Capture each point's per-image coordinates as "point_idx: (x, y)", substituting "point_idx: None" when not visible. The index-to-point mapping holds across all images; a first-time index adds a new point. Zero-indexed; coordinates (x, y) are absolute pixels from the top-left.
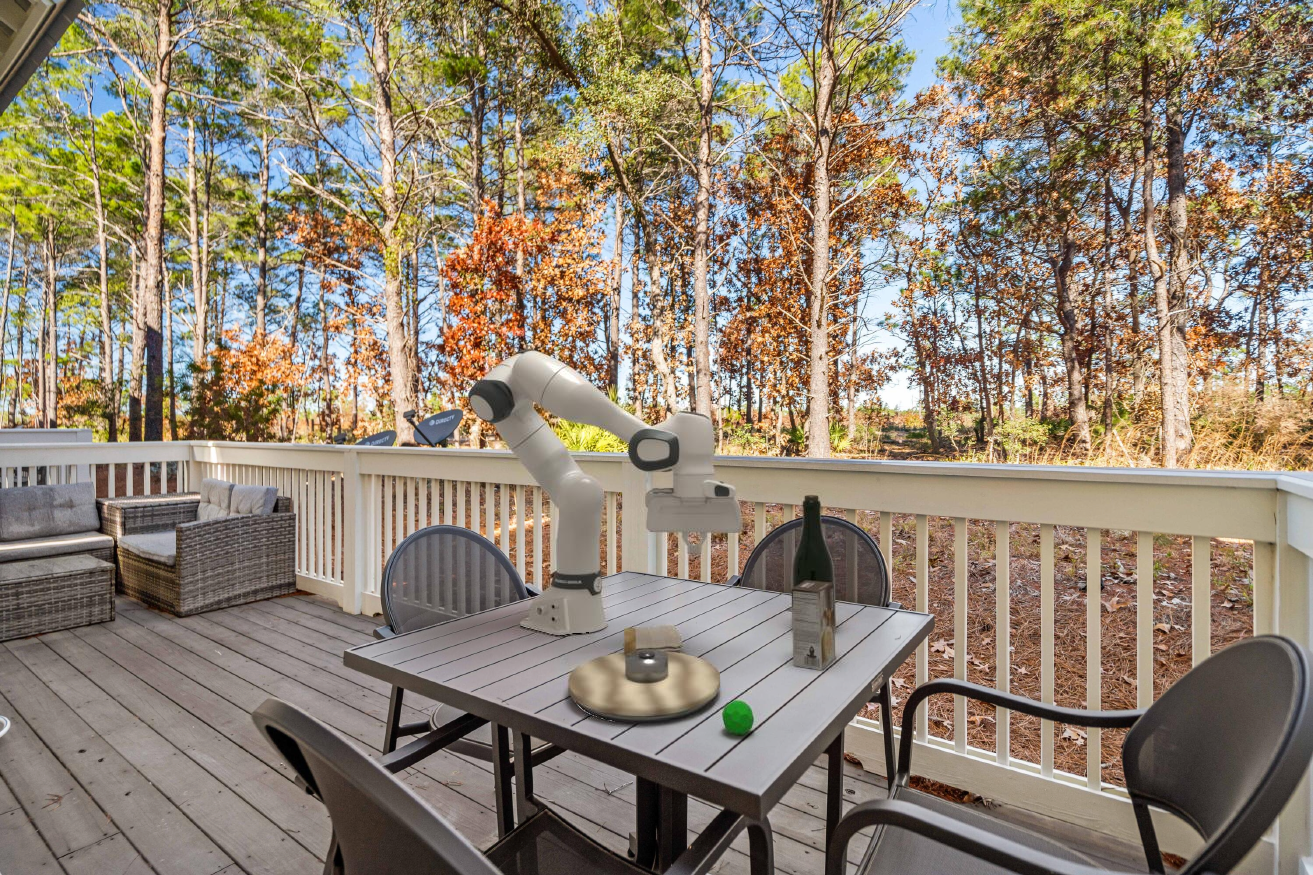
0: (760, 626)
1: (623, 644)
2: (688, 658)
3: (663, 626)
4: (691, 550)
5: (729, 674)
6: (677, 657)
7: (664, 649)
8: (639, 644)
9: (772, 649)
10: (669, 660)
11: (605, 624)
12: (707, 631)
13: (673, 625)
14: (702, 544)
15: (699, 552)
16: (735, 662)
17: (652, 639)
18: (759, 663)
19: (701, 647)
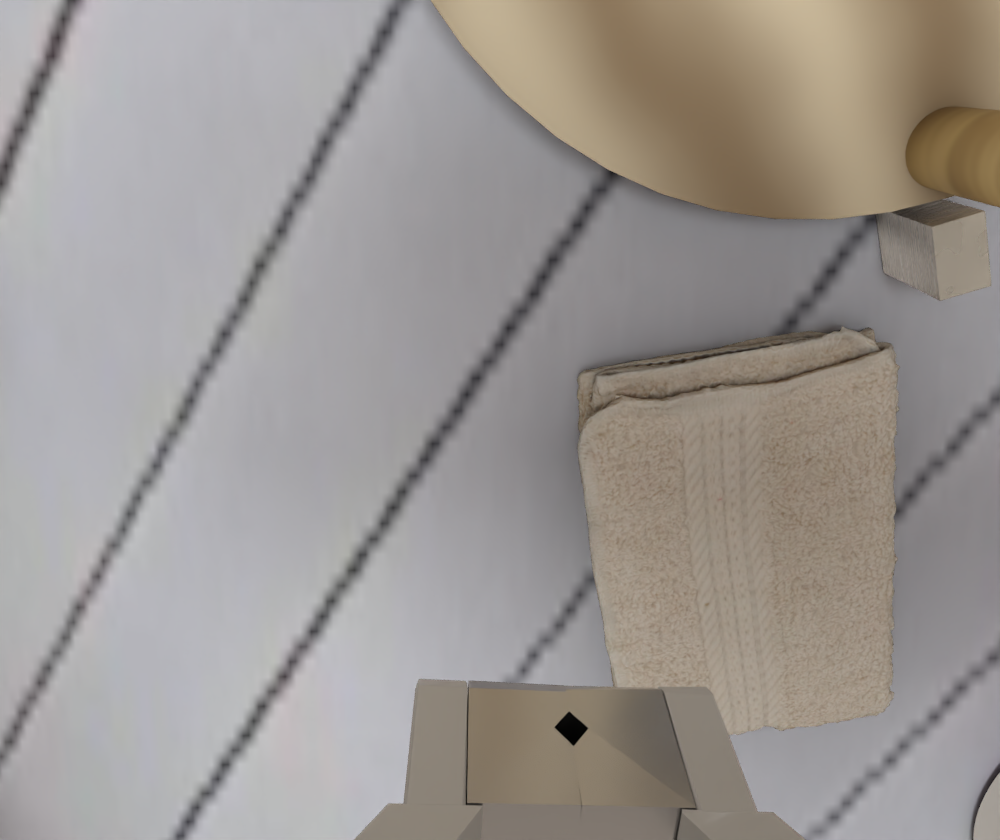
0: (150, 833)
1: (988, 283)
2: (552, 55)
3: None
4: (634, 725)
5: (291, 65)
6: (628, 77)
7: (692, 381)
8: (848, 422)
9: (57, 496)
10: (686, 8)
11: (992, 805)
12: None
13: None
14: (363, 832)
15: (453, 691)
16: (262, 278)
17: (763, 513)
18: (117, 264)
19: (467, 517)
